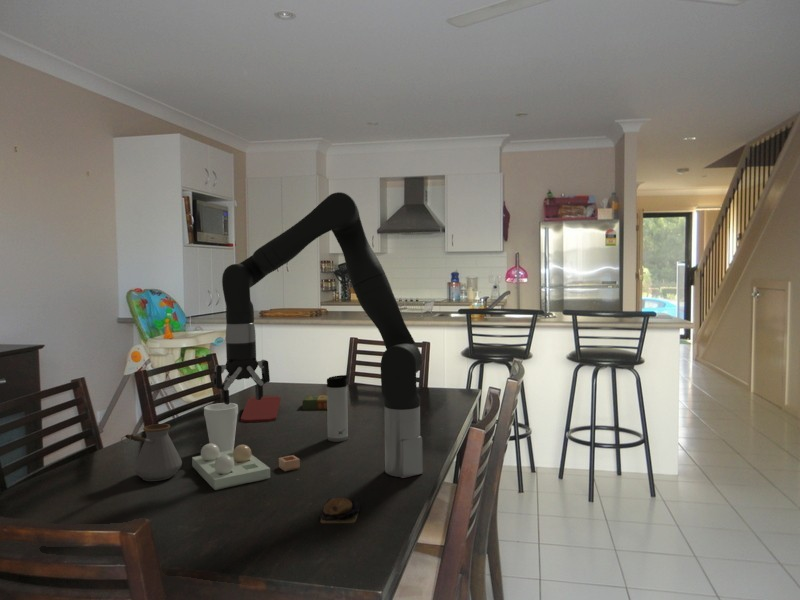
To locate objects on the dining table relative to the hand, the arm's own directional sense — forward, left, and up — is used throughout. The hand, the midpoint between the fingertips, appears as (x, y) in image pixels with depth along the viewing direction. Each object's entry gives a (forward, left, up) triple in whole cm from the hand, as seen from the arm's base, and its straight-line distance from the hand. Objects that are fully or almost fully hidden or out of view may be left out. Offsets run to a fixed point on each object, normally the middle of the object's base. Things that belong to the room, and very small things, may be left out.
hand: (242, 401), depth 155 cm
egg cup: (-6, -10, -18) cm, 22 cm away
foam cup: (+20, 0, -18) cm, 27 cm away
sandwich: (-39, -8, -19) cm, 44 cm away
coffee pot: (+4, +23, -18) cm, 30 cm away
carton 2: (+57, -26, -19) cm, 65 cm away
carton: (+52, -49, -19) cm, 74 cm away
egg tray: (0, +4, -18) cm, 19 cm away
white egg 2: (-6, +7, -16) cm, 19 cm away
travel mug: (+10, -33, -18) cm, 39 cm away
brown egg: (0, +1, -16) cm, 16 cm away
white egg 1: (+6, +7, -16) cm, 19 cm away
